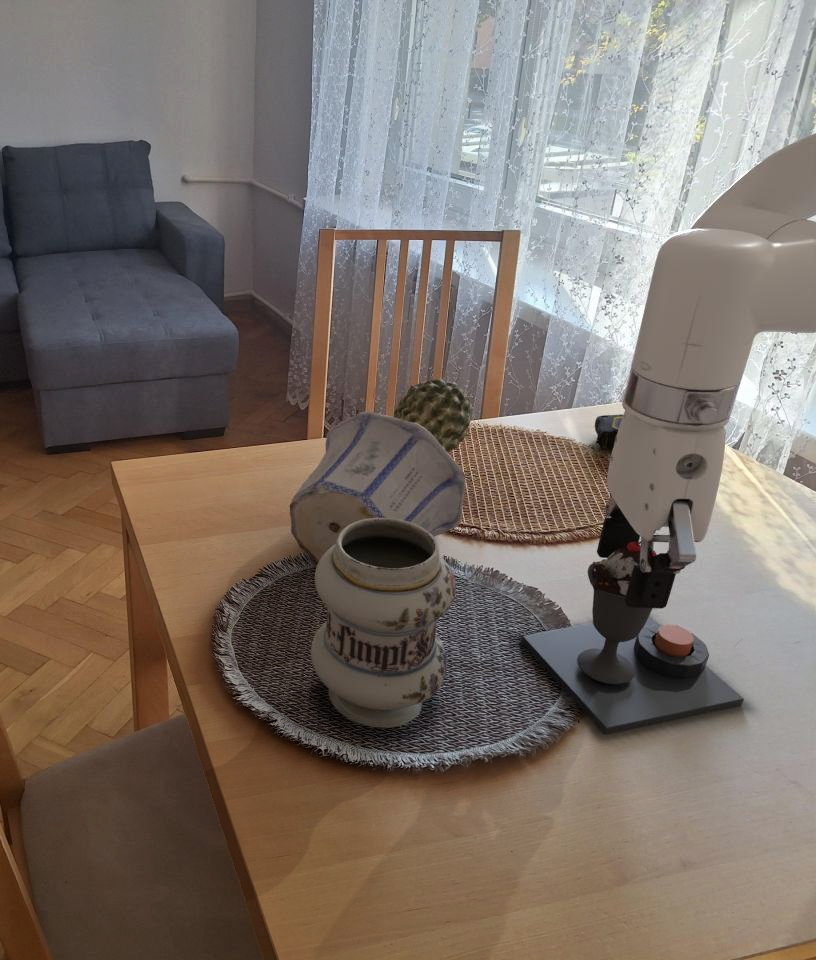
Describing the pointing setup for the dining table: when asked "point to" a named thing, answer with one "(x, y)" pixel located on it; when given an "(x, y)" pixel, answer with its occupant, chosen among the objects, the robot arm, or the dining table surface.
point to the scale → (650, 694)
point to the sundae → (613, 616)
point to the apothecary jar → (382, 620)
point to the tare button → (674, 640)
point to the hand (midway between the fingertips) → (629, 578)
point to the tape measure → (607, 430)
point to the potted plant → (388, 469)
